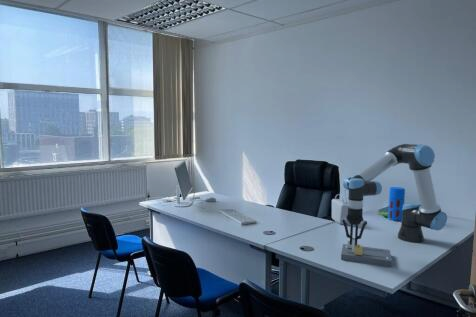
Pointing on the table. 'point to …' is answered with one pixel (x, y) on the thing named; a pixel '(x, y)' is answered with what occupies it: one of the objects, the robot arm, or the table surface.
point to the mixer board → (368, 256)
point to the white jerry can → (339, 209)
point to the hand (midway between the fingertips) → (353, 250)
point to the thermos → (396, 203)
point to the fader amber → (358, 249)
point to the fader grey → (349, 243)
